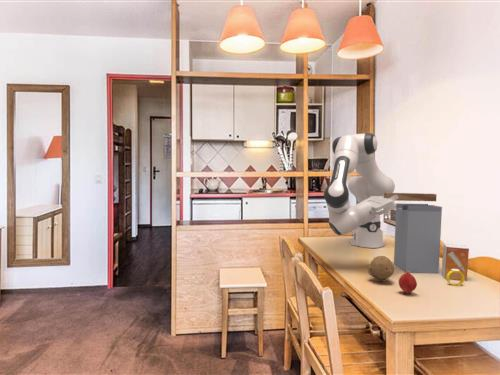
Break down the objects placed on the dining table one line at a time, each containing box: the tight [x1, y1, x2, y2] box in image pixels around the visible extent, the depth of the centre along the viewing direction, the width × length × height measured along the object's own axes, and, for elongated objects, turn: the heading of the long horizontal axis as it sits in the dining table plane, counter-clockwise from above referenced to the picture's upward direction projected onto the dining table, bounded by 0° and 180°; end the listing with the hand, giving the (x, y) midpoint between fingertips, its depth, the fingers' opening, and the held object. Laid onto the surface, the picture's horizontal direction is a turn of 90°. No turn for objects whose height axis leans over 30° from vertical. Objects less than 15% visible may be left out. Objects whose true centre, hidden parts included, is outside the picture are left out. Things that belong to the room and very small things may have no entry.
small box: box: [441, 243, 470, 282], centre depth 148 cm, size 8×6×13 cm
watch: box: [446, 269, 464, 286], centre depth 139 cm, size 6×3×6 cm, turn 87°
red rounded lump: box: [398, 271, 418, 294], centre depth 129 cm, size 6×6×8 cm
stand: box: [393, 202, 443, 274], centre depth 159 cm, size 12×14×28 cm
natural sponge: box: [367, 255, 395, 282], centre depth 141 cm, size 9×9×10 cm
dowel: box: [384, 192, 437, 202], centre depth 156 cm, size 3×21×3 cm, turn 92°
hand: (394, 195), depth 156 cm, fingers closed on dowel, 3 cm apart
